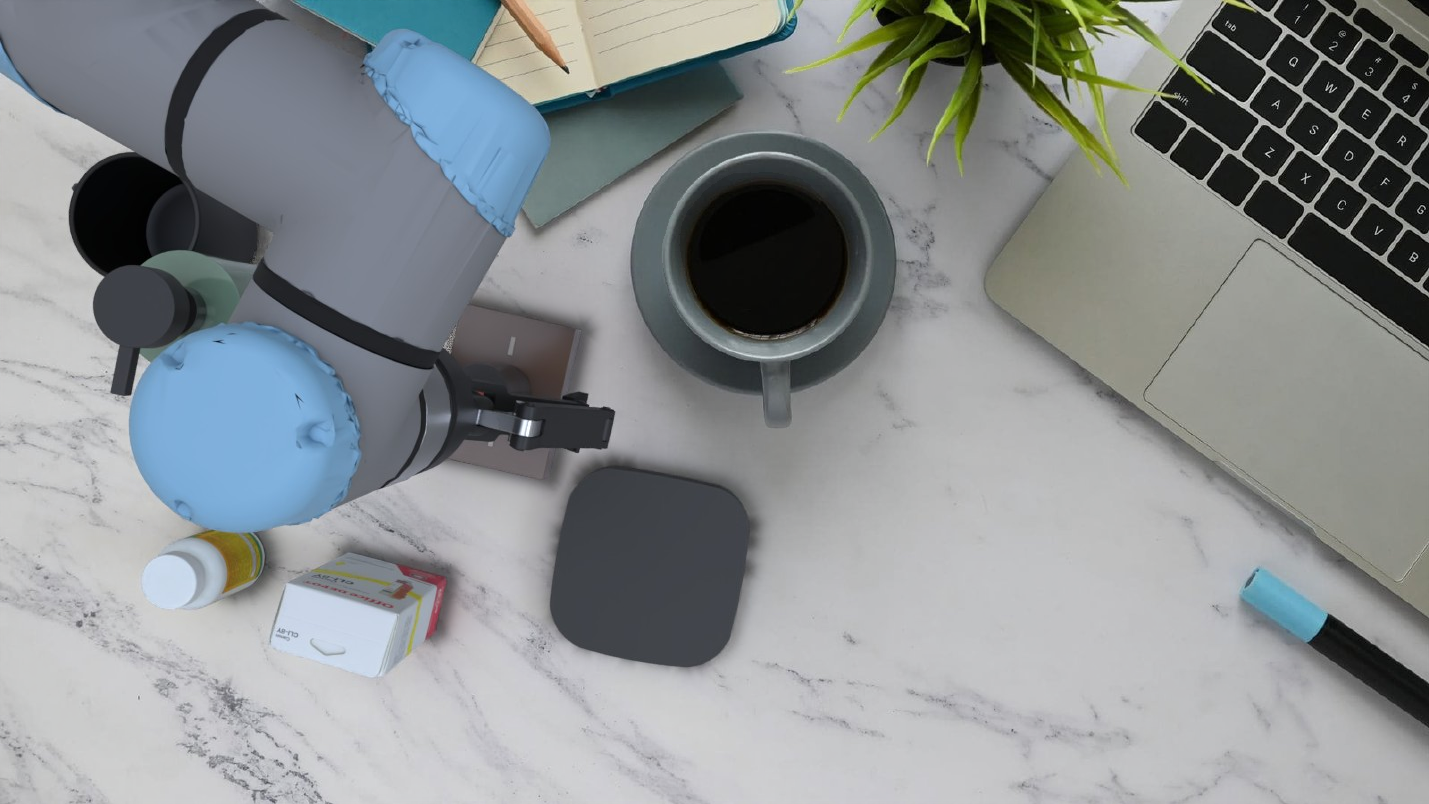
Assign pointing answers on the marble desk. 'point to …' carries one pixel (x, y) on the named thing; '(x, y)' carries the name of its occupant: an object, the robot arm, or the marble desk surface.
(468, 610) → the marble desk surface
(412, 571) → the ink box
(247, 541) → the supplement bottle
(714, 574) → the media streaming box
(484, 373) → the dial
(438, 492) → the marble desk surface
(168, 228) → the mug
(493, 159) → the robot arm
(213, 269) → the lotion bottle
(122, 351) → the pump head
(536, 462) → the dial panel
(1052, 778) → the marble desk surface
